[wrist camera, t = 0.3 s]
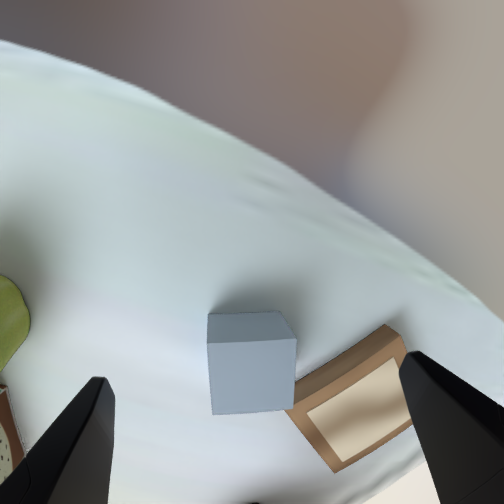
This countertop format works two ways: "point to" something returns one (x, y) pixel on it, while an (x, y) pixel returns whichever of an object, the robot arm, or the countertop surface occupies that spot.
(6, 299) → the plant pot
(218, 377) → the block
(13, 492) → the robot arm
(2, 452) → the food container
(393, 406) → the base
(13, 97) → the countertop surface
